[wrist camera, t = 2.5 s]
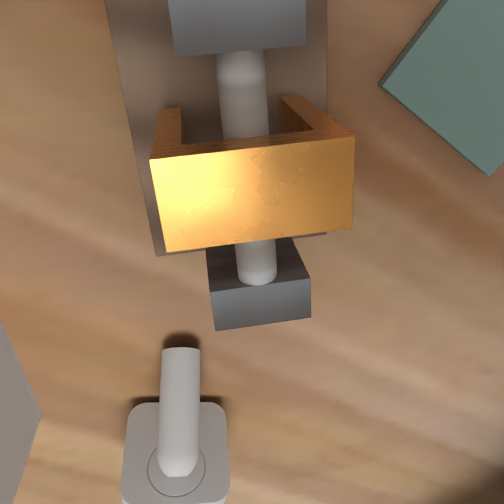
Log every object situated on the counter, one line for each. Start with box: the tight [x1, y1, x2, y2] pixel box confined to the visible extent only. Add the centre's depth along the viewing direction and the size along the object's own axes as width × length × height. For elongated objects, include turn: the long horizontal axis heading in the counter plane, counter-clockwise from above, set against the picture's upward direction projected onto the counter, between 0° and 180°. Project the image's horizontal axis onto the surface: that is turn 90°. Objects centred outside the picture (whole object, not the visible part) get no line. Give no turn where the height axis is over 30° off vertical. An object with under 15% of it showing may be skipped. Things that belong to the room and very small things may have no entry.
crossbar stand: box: [104, 0, 327, 331], centre depth 25 cm, size 16×12×11 cm
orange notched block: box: [149, 94, 355, 252], centre depth 23 cm, size 4×8×10 cm, turn 95°
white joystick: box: [120, 347, 230, 504], centre depth 36 cm, size 8×10×10 cm
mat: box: [378, 0, 504, 177], centre depth 30 cm, size 11×11×1 cm
